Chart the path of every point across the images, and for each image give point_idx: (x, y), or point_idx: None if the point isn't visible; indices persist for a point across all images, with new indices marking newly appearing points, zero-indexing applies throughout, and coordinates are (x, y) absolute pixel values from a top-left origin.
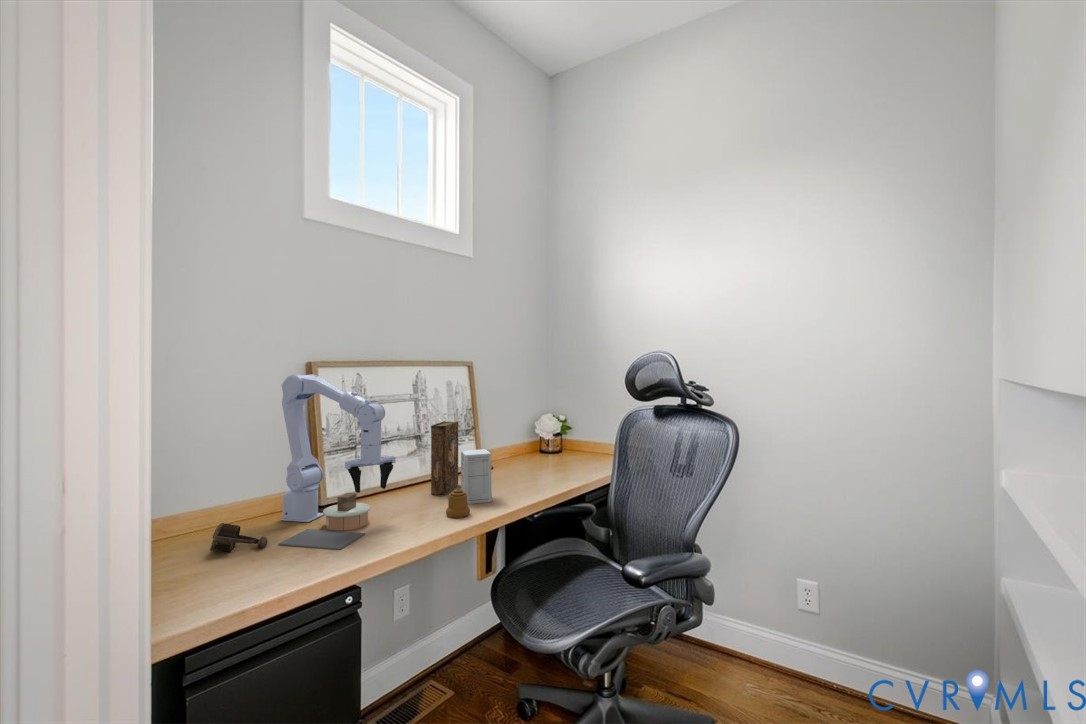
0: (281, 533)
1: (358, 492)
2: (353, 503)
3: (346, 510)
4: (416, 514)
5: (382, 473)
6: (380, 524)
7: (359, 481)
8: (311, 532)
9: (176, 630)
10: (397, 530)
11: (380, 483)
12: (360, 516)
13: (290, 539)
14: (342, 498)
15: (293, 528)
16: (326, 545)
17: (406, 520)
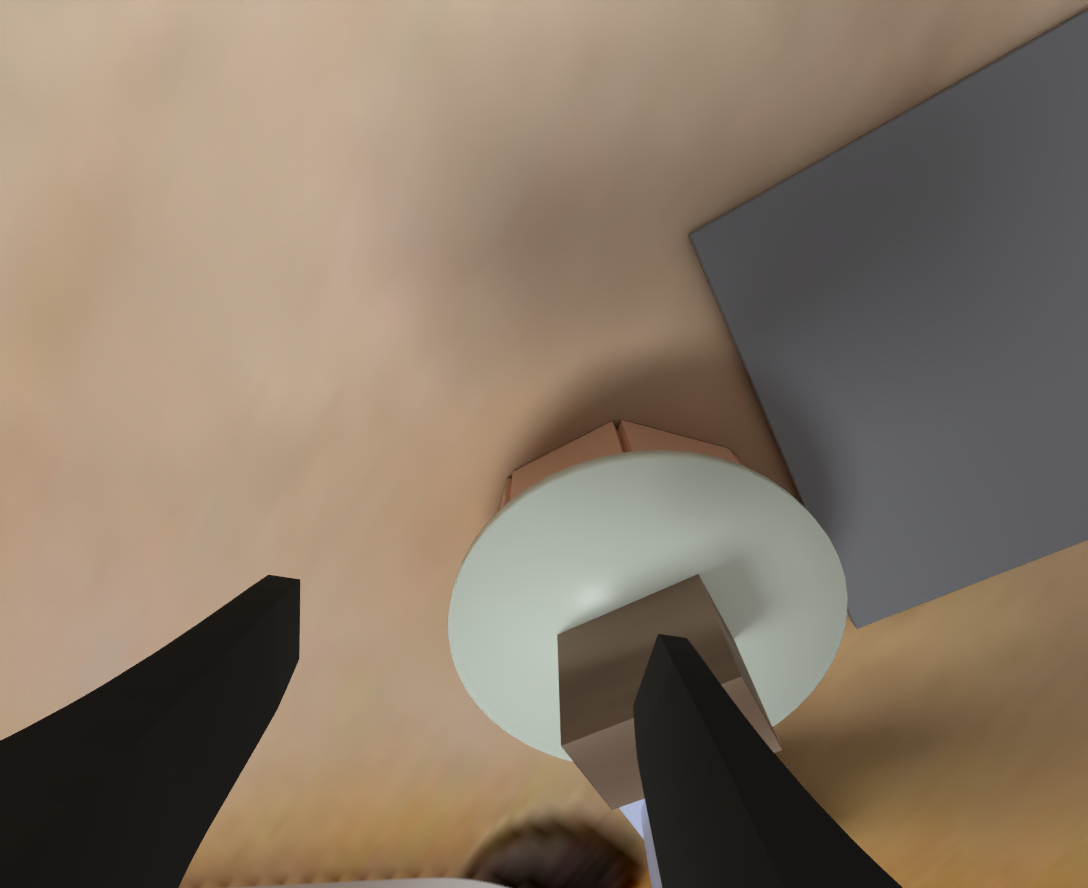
0: (965, 672)
1: (678, 639)
2: (601, 649)
3: (701, 582)
4: (91, 376)
5: (136, 878)
6: (457, 373)
7: (744, 778)
8: (898, 552)
9: None
10: (433, 89)
11: (272, 716)
12: None
13: (1067, 525)
14: (756, 701)
15: (866, 700)
16: (1084, 195)
17: (233, 296)
